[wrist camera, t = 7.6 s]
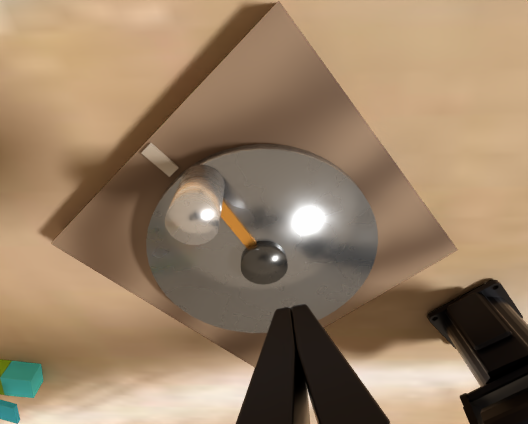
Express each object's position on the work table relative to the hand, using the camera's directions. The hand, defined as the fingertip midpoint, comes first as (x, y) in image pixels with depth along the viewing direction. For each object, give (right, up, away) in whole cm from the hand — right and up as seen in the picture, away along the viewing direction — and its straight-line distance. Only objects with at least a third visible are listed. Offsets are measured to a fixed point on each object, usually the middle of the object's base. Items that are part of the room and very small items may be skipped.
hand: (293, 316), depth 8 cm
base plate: (-1, +1, +14) cm, 14 cm away
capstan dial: (-1, 0, +13) cm, 13 cm away
